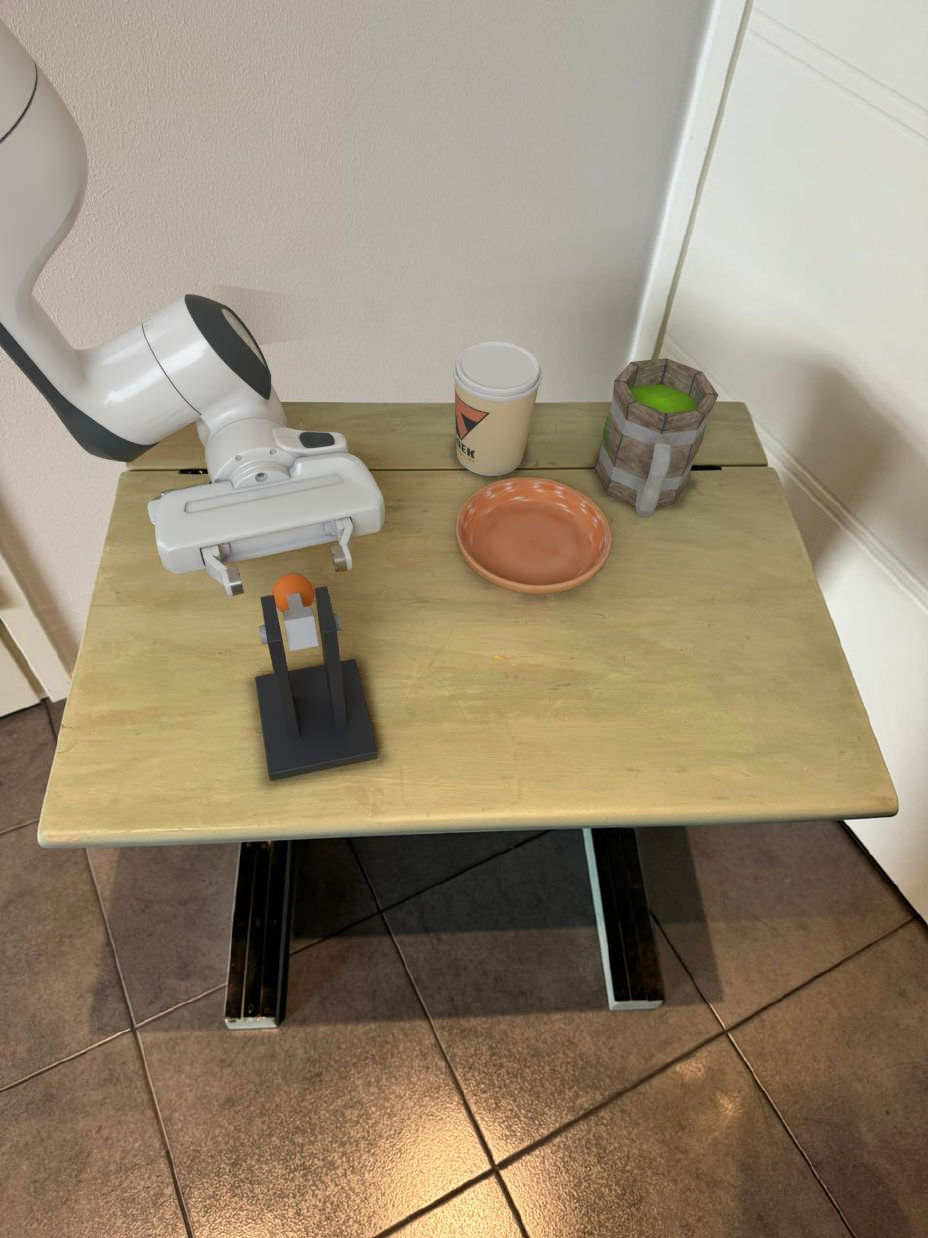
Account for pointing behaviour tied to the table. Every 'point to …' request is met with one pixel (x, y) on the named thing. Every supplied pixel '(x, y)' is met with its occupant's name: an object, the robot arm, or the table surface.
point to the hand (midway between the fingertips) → (290, 578)
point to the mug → (653, 432)
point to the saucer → (533, 535)
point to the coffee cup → (494, 405)
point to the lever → (296, 610)
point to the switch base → (311, 702)
